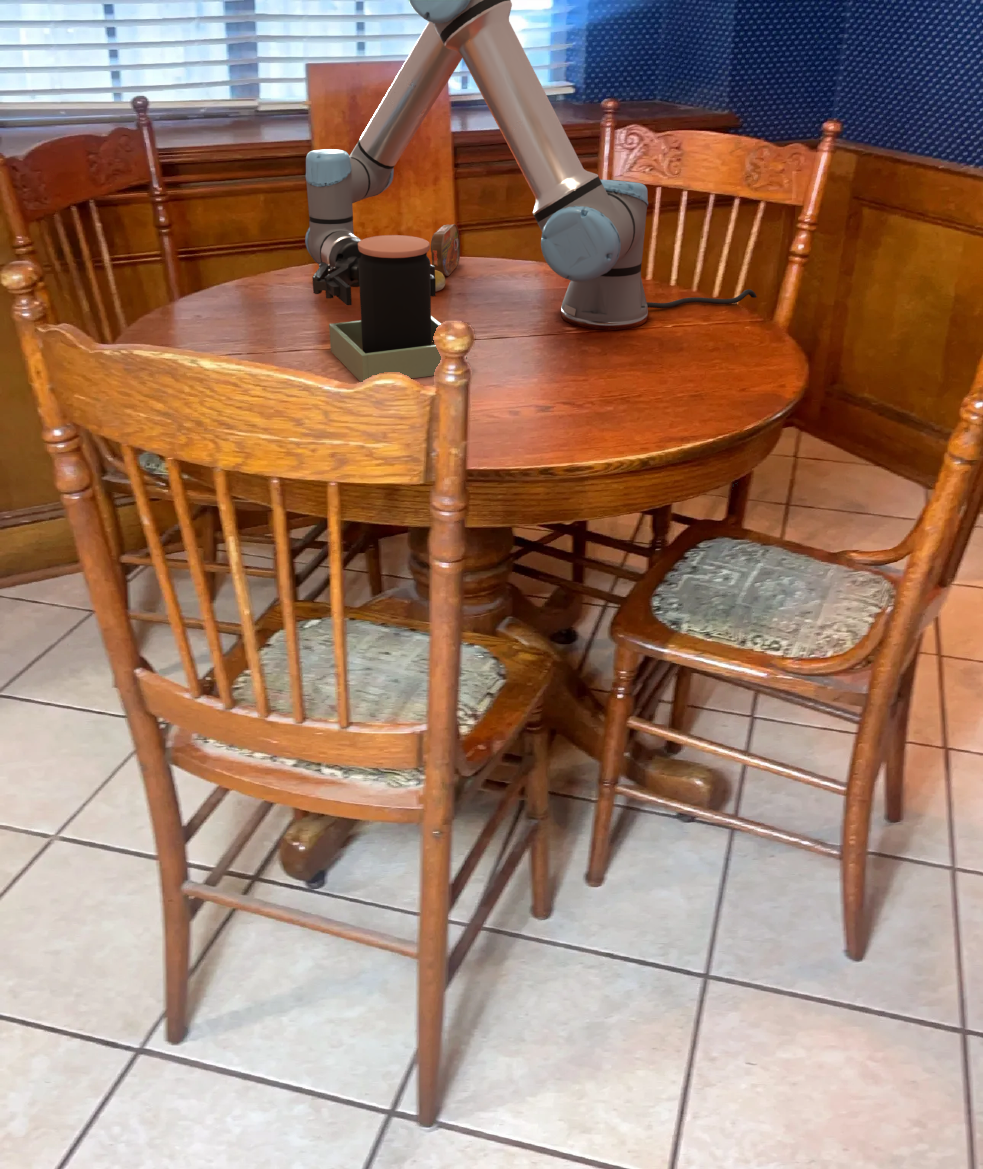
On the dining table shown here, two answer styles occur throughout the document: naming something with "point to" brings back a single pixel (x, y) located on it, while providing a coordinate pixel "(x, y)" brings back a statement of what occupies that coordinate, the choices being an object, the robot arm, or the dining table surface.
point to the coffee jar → (394, 292)
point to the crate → (381, 354)
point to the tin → (445, 249)
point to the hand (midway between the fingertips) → (391, 292)
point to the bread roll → (439, 280)
